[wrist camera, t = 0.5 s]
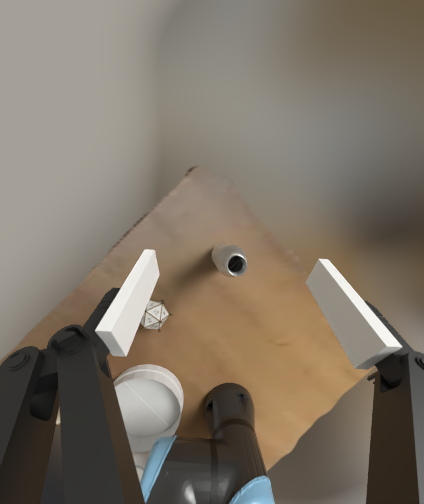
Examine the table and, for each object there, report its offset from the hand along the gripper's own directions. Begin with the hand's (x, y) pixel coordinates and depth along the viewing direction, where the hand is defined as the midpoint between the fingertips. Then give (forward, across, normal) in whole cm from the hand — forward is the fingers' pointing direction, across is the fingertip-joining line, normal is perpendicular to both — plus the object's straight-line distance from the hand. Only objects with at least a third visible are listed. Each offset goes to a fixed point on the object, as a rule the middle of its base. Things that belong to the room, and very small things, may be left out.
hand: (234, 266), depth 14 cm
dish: (+3, +19, +57) cm, 60 cm away
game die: (+18, +17, +33) cm, 41 cm away
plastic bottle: (+28, -1, +20) cm, 34 cm away
